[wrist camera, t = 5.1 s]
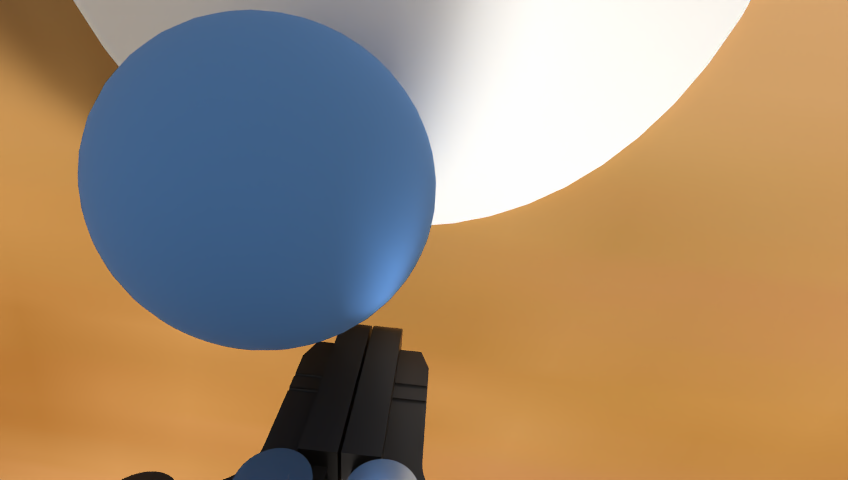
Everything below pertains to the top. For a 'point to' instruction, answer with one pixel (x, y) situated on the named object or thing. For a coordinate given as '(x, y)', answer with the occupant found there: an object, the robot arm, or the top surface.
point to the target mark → (496, 76)
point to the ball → (256, 180)
